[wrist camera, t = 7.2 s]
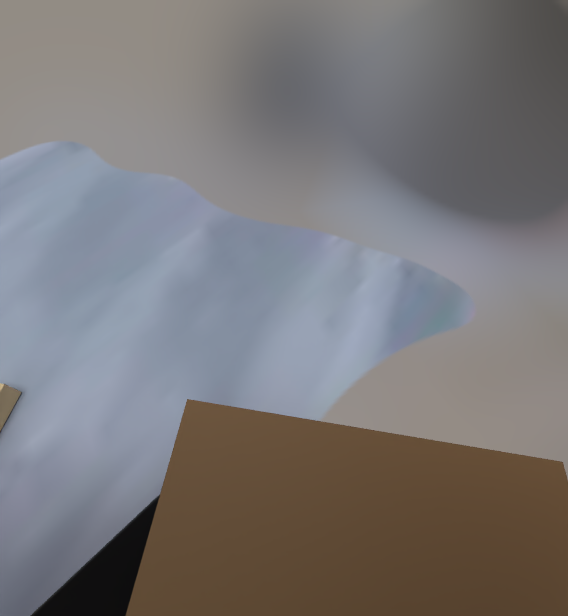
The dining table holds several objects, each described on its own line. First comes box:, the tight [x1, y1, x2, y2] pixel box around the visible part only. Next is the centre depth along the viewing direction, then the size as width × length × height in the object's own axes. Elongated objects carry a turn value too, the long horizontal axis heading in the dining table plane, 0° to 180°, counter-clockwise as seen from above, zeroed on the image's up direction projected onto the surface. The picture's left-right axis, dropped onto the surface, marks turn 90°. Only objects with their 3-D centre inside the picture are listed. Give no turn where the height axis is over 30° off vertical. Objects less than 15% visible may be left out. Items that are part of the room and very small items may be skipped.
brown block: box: [126, 399, 568, 616], centre depth 7 cm, size 4×4×11 cm
